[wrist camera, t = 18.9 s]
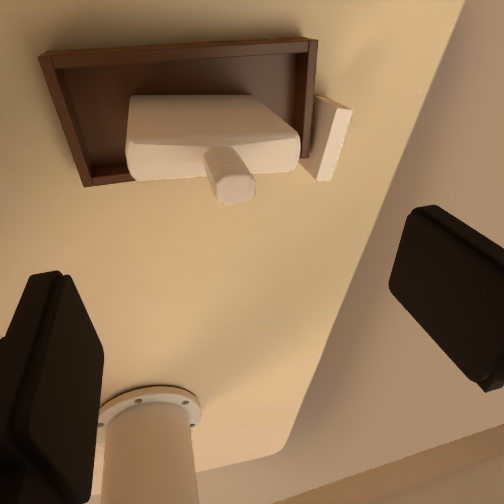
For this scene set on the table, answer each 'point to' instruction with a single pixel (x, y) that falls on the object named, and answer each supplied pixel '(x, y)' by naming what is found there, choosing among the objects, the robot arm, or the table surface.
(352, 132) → the table surface
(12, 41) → the table surface
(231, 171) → the perfume bottle
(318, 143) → the eraser
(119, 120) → the tray
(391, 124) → the table surface
